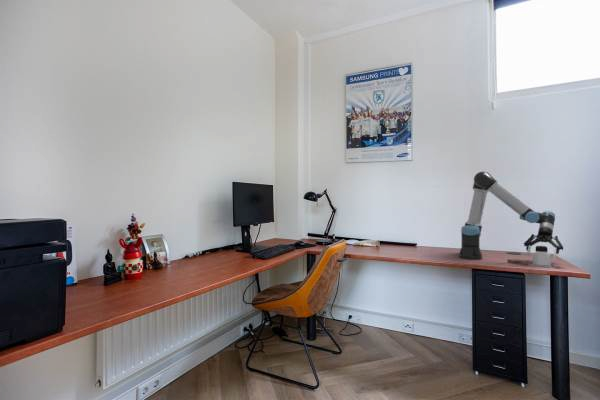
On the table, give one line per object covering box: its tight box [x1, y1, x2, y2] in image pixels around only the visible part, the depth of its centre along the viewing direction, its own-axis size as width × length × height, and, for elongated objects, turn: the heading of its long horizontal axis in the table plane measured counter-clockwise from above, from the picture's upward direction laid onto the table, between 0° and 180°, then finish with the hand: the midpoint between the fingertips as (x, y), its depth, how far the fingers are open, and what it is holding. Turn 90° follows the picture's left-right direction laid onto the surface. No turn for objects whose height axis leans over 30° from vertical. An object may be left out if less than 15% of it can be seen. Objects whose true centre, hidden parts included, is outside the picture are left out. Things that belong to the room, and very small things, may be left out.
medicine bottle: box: [531, 245, 552, 266], centre depth 195 cm, size 7×7×12 cm
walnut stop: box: [507, 259, 529, 266], centre depth 200 cm, size 11×1×2 cm, turn 42°
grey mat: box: [530, 262, 554, 269], centre depth 194 cm, size 10×10×1 cm
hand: (541, 255), depth 193 cm, fingers open, 13 cm apart
